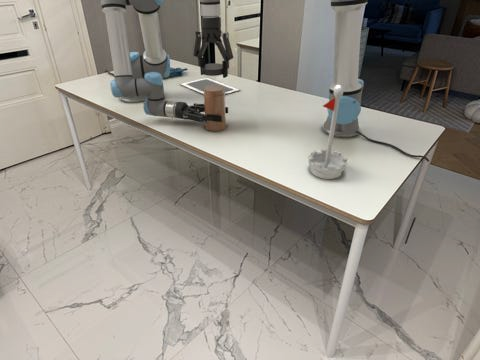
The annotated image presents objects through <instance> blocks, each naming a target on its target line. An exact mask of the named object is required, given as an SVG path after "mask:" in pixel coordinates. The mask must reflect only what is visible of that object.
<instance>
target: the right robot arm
mask: <svg viewBox="0 0 480 360" xmlns="http://www.w3.org/2000/svg"><path fill="white" fill-rule="evenodd" d="M367 4H368V0H330V8H331V9H332V10H333V11H334V13H335V14H334V45H333V46H334V49H333V52H334V53H333V82H331V84H330V85H329V86H328V88H329V90H328V102H329V101H331V100H332V99H334V98H335V96H334V90H335V89H336V88H341V89H342V90H343V95H342V96H341V97H340V101H339V107H338V113H337V120H336V126H335V132H334V137H335V138H339V139H341V138H342V139H349V138H354V137H356V136H357V135H360V136H362V137H363V138H364V139H366V140H368V141H369V142H372V143H376V144H381V145H386V146H389V147H392V148H394V149H396V150H397V151H399V152H400V153H402V154H404V155H407V156H408V157H411V158H422V159H424V160H426V162H430V159H429V158H428V157H427V156H425V155H420V154H419V155H415V154H411V153H408V152H405V151H404V150H402V149H401V148H400V147H398V146H396V145H394V144H391V143H388V142H384V141H379V140H375V139H372V138H369V137H368V136H366V135H365V134H364V133H361V131H360V125H359V115H361V111H362V107H361V105H362V95H363V90H364V88H365V87H364V84H365V82H364V80H363V79H360V78H359V69H360V68H359V66H360V53H361V52H360V51H361V35H362V19H363V18H362V17H363V9H364V7H365V6H366V5H367ZM199 8H200V10H199V11H200V16H201V18H200V21H201V22H200V23H201V28H202V29H201V30H200V29H199V30H196V31H195V33H194V34H195V40H194V47H193V53H192V55H193V57H195V58H197V62H198V67H199V71H200V75H201V76H203V75H204V74H202V69H201V68H202V66H203V65H206V59H205V58H206V57H204V54H205V52H206V50H207V47H208V45H209V44H210V43H212V44H215V46H216V47H217V50H218V51H219V53H220V55H221V57H222V59H223V60H222V61H221V62H222V63H221V64H222V66H223V75H222V79H226V78H227V77H228V76H229V74H228V70H229V69H230V61H231V60H232V59H234V54H233V50H232V47H231V43H230V38H229V37H230V34H229V31H227V32H223V31H222V18H221V0H199ZM202 37H203V39H202ZM326 109H327V110H326V111H327V117H326V120H325V121H324V123H323V126H322V130H323V132H324V133H325V134H326V135H329V134H330V127H331V121H332V114H333V111H332V110H330V109H328V108H326ZM416 219H417V217H414V218H413V219H412V222H411V225H410V227H409V230H408V233H407V236H406V239H405V240H404V244H405V245H407V243H408V241H409V238H410V234H411V232H412V229H413V227H414V224H415V222H416Z"/></svg>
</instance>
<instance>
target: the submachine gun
mask: <svg viewBox="0 0 480 360" xmlns="http://www.w3.org/2000/svg"><path fill="white" fill-rule="evenodd" d="M186 71H188V67H186V68H182V67H176V68H175V67H171V66H170V75H169V76H168V77H172V76H176V75H182V74H183V73H184V72H186Z"/></svg>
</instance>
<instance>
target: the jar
mask: <svg viewBox="0 0 480 360" xmlns="http://www.w3.org/2000/svg"><path fill="white" fill-rule="evenodd" d="M203 104H204V110H205V112H204V114H205V115H206V116H207V114H212V115H222V122H216V121H207V122H206V123H204V124H205V129H206V130H207V131H210V132H219V131H223V130H225V129H226V127H227V121H226V120H227V118H226V115H227V113H225V107H226V95H225V92H224V87H223V86H220V85H209V86H206V87H205V88H204V95H203Z"/></svg>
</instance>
